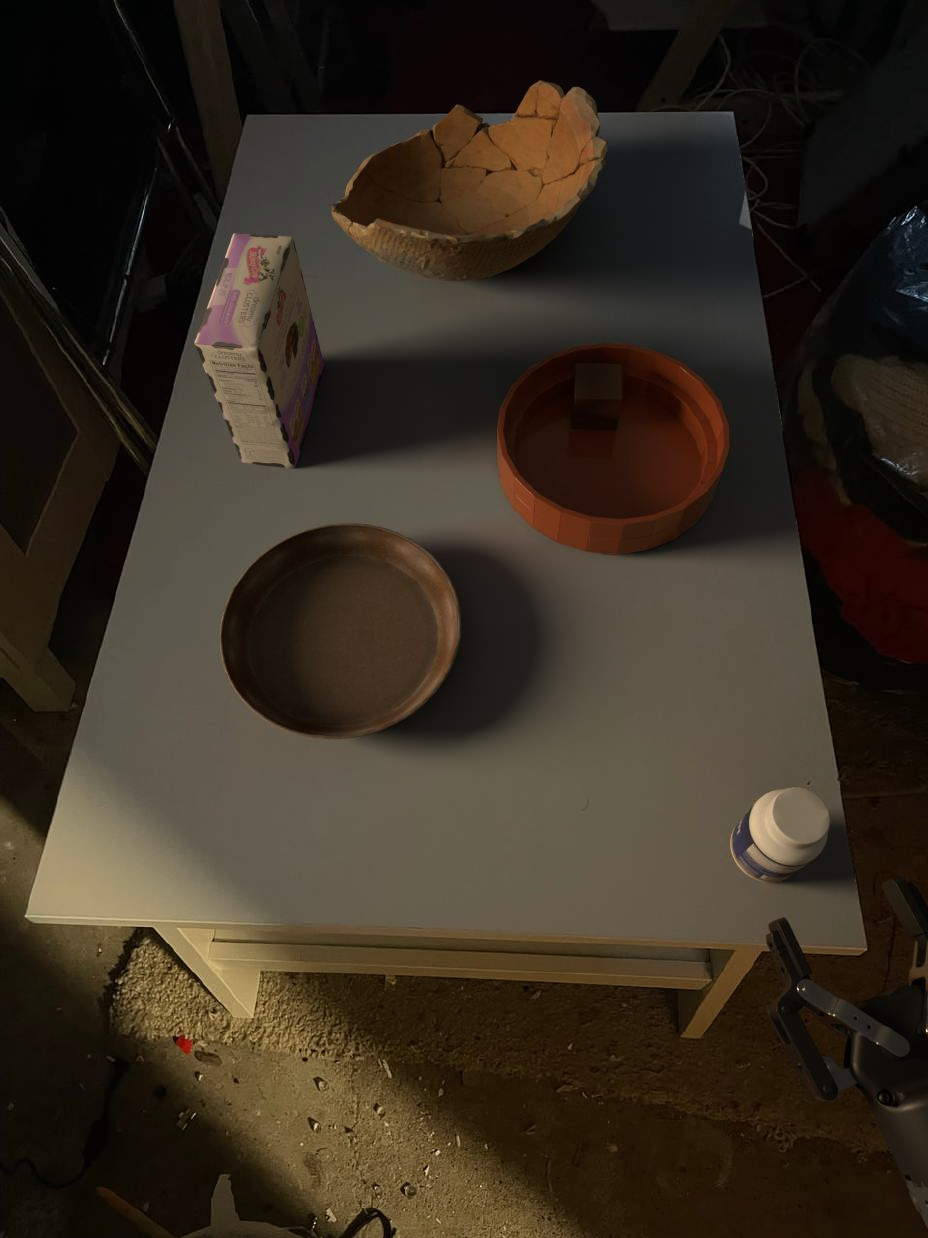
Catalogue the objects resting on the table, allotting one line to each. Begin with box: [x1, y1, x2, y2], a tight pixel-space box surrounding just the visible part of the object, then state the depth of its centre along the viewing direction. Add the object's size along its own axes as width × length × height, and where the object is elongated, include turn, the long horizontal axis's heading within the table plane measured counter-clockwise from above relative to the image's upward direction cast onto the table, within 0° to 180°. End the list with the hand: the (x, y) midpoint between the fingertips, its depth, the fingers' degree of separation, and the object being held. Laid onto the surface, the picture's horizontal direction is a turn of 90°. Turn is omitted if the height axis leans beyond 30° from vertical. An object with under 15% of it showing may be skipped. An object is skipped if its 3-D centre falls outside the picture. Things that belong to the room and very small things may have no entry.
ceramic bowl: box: [331, 79, 610, 282], centre depth 97 cm, size 30×27×15 cm
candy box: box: [193, 232, 325, 469], centre depth 84 cm, size 14×6×16 cm, turn 172°
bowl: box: [496, 342, 731, 555], centre depth 85 cm, size 21×21×6 cm
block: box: [571, 363, 623, 430], centre depth 87 cm, size 4×4×4 cm
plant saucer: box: [219, 522, 462, 740], centre depth 77 cm, size 21×21×3 cm
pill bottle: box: [729, 786, 832, 884], centre depth 65 cm, size 5×5×10 cm
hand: (833, 900), depth 60 cm, fingers open, 8 cm apart
